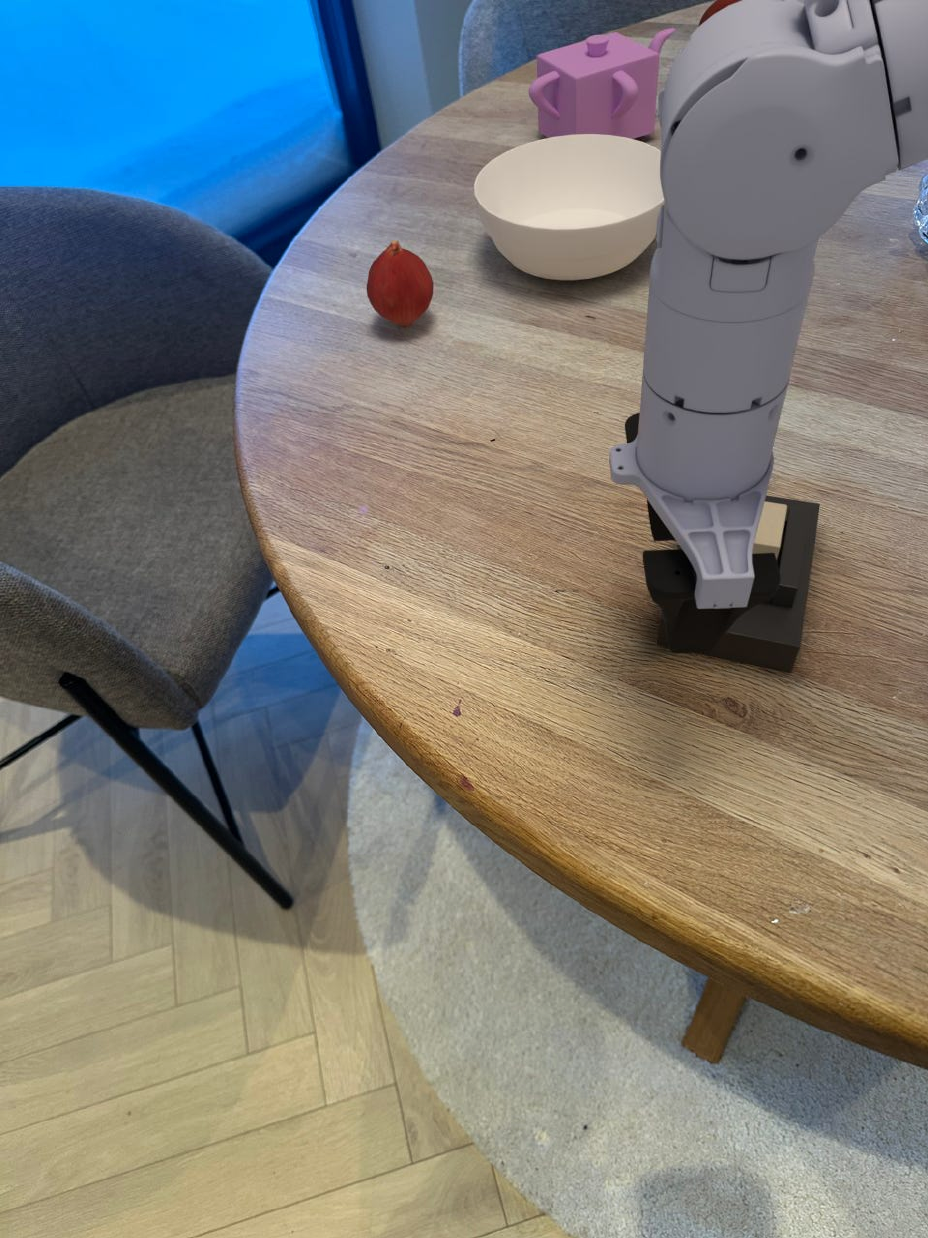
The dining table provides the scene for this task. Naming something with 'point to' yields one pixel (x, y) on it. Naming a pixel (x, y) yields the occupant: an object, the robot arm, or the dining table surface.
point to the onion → (399, 285)
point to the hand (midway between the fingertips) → (680, 588)
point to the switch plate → (774, 600)
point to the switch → (770, 529)
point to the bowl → (572, 204)
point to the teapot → (598, 87)
